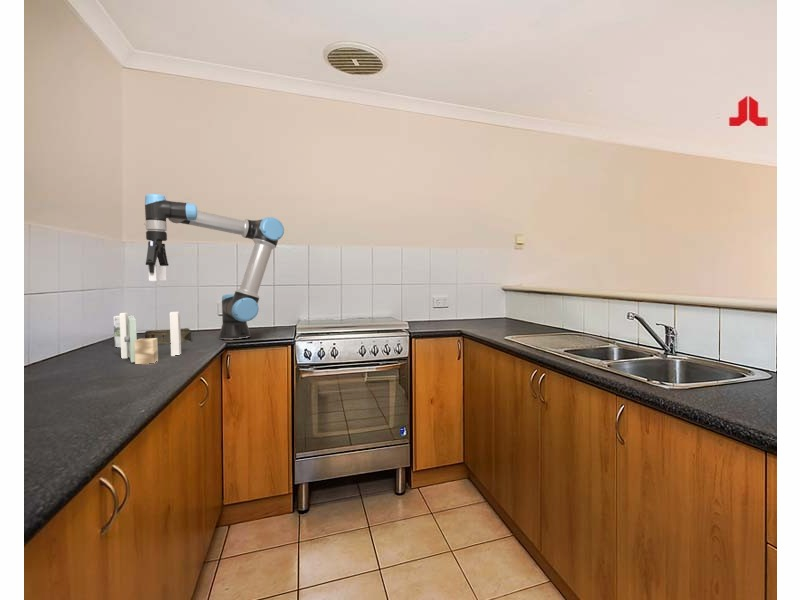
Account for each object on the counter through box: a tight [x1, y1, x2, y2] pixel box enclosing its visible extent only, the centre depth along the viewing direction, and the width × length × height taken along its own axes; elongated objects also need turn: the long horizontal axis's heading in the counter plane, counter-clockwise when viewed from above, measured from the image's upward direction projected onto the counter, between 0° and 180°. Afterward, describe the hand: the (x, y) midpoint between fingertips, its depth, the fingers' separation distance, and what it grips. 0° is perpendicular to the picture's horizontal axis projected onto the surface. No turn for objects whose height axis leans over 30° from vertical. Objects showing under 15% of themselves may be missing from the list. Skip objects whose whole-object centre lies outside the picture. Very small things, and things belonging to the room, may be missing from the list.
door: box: [124, 316, 138, 363], centre depth 146 cm, size 14×4×16 cm, turn 38°
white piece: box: [118, 311, 182, 359], centre depth 154 cm, size 20×3×18 cm, turn 107°
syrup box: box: [112, 314, 135, 349], centre depth 172 cm, size 6×6×14 cm
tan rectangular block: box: [134, 337, 159, 365], centre depth 143 cm, size 6×5×9 cm
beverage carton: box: [144, 327, 192, 345], centre depth 184 cm, size 8×19×7 cm, turn 126°
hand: (158, 280), depth 164 cm, fingers open, 13 cm apart
